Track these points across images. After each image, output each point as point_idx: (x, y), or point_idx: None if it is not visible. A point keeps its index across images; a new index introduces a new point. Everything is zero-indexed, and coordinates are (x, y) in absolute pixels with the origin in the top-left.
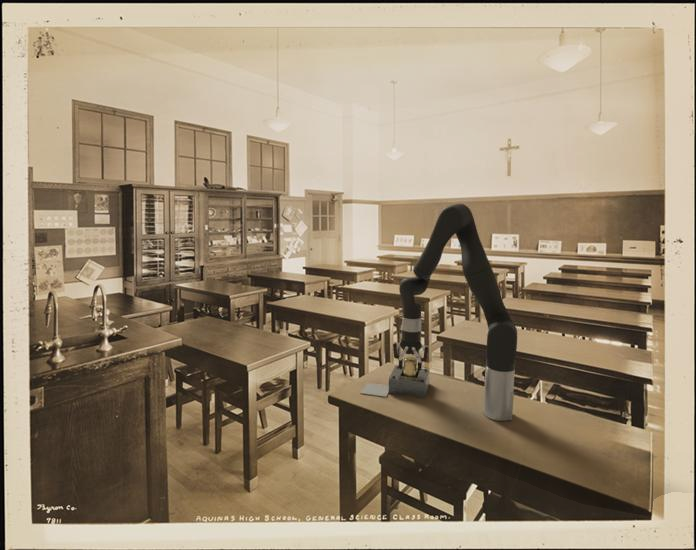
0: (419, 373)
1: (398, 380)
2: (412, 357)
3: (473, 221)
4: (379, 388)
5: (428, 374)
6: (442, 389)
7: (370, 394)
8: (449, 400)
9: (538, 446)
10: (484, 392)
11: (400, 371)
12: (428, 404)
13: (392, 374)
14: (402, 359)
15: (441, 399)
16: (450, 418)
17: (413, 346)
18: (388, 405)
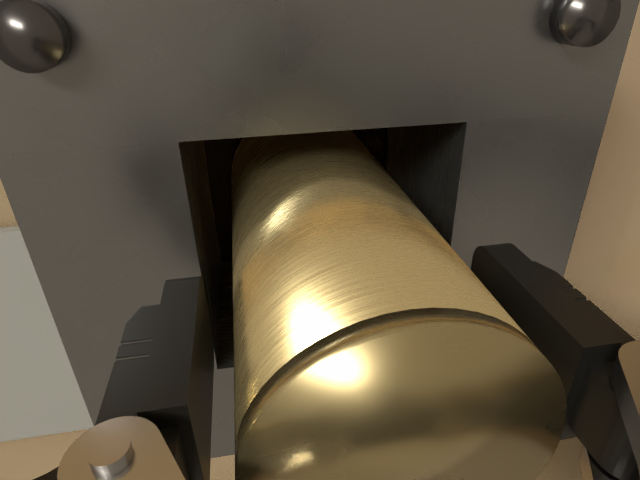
0: (468, 193)
1: (232, 443)
2: (458, 342)
3: None
4: (20, 322)
5: (589, 139)
6: (625, 59)
7: (16, 438)
8: (627, 258)
9: None
10: None
11: (167, 234)
12: None
13: (99, 373)
14: (184, 430)
15: (572, 266)
16: (576, 446)
17: None
18: (217, 476)
